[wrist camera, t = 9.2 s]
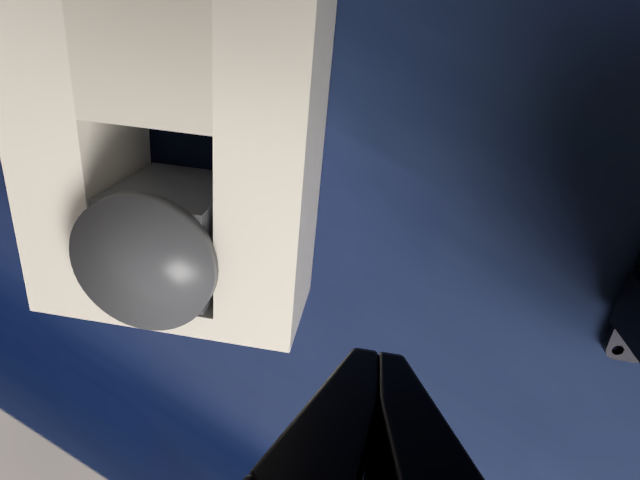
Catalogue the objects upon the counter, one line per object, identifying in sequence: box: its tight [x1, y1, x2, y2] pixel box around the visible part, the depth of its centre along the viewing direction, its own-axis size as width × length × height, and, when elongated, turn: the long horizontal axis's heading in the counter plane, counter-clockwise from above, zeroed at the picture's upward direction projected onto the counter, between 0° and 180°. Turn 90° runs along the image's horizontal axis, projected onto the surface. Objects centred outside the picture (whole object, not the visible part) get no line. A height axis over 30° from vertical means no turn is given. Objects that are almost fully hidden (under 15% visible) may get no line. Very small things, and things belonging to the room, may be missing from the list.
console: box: [0, 0, 337, 353], centre depth 17 cm, size 11×21×5 cm, turn 175°
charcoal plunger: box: [69, 162, 219, 331], centre depth 19 cm, size 5×5×6 cm
